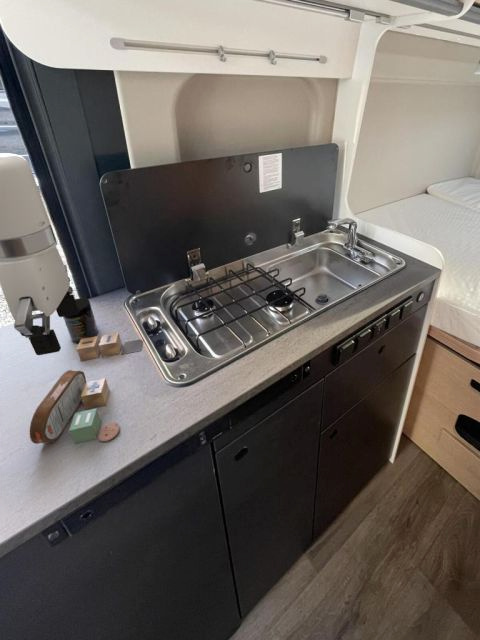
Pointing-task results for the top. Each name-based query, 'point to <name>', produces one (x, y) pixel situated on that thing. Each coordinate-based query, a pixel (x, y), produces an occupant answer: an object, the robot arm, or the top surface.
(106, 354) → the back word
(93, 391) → the front word
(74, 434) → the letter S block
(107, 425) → the cookie
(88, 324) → the supplement container
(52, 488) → the top surface
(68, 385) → the tin
